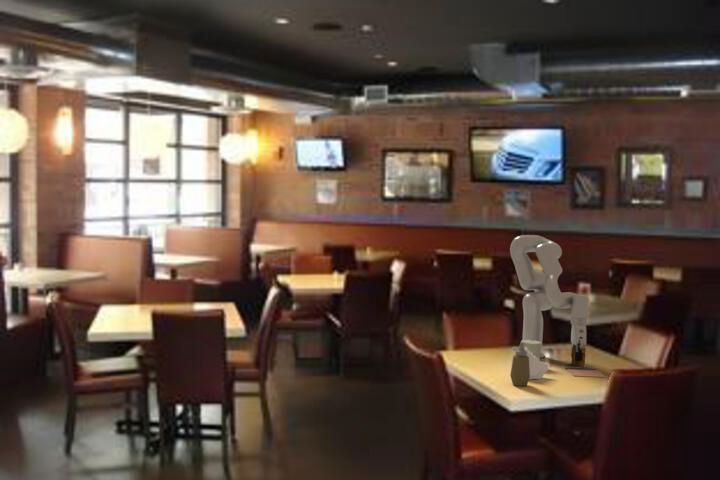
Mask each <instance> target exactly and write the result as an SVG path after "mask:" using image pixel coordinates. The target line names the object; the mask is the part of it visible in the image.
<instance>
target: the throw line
mask: <svg viewBox="0 0 720 480" xmlns="http://www.w3.org/2000/svg"><path fill="white" fill-rule="evenodd" d="M567 369H574V370H597V368H594V367H593V368H592V367H590V368H589V367H581V368H574V367H569V366H566V367H565V370H567Z"/></svg>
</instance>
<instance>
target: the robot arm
mask: <svg viewBox="0 0 720 480" xmlns="http://www.w3.org/2000/svg"><path fill="white" fill-rule="evenodd" d="M509 252H510V257H511V260H512V262H513V265H514V267H515V272H516V274H517V275H516V276H517V279H518V282H519V285H520V287H521V288H522V289H523V290H524V291H532V292H528V293H527V294H525V295H524V296H523V298H522V310H523V312H522V313H523V320H522V321H523V323H522V324H523V325H522V326H523V327H522V340H535V341H539V342H541V348H540V359H543V358H544V354H545V353H543V350H542V349H543V333H544V317H543V314H542V311H549V310H551V309H552V308H555V309H558V310H562V309H570V308H571V309H570V324H571V332H570V342H571V348H572V347H573V344H574V345H576V354H575V360H576V361H582V358H583V347H584V346H585V347H586V346H587V325H588V316H589V315H588V314H589V302H590V301H589V296H588V295H586V294H577V293H575V292H571V291H566V292H562V291H561V290H560V287H559V283H558V279H559V276H560V275H561V274H562V273H563V268H562V266H561V263H560V262H559V259H560V258H561V257H562V255H563V250H562V248H561V246H560V245H559V244H558V243H556V242H554V241H552V240H550V239H547V238H546V237H544V236H540V235H539V234H538V235H537V234H536V235H535V234H525V235H524V234H523V235H518V236H516V237H514V239H513V240H512V242H511V244H510V248H509ZM527 253H535V255H536V257H537V259H538V263H539V265H540V267H541V269H542V271H541V270H535V269H534V265H533V261H532V260H531V258H530V257H529V256H528V254H527ZM578 344H580V345H578ZM511 347H512V348H511V350H512V351H515V352H516V350H518V349H519V346H511ZM578 347H579V348H578ZM570 356H571V358H572V351H571V352H570Z"/></svg>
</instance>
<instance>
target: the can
mask: <svg viewBox="0 0 720 480" xmlns="http://www.w3.org/2000/svg"><path fill="white" fill-rule="evenodd" d="M520 342H523V344H524V347H526V348H528V350H529V351H530V352H531V353H533V355H534V356H536V357H537V358H538V359H539V360H540V361H541V358H540V348H541V342H539V341H535V340H523V339H522V340H521V341H520Z"/></svg>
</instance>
